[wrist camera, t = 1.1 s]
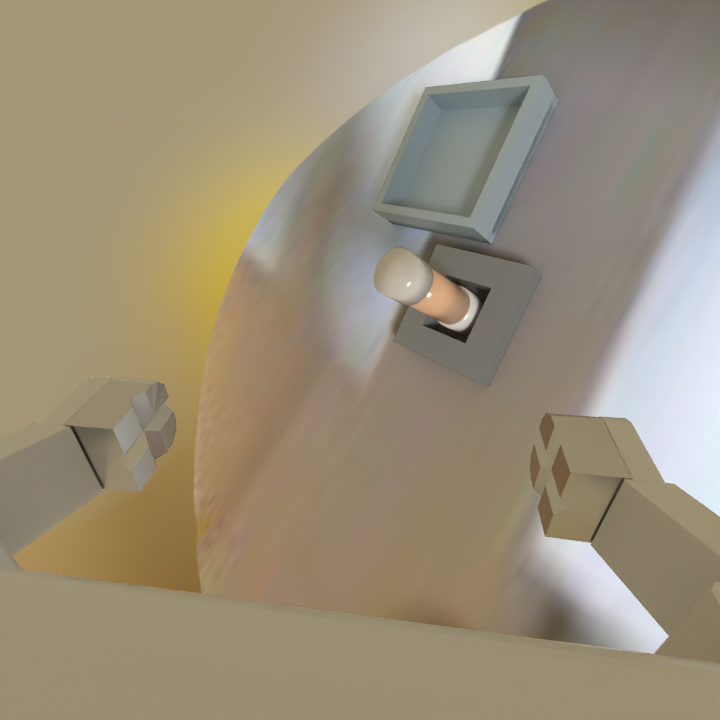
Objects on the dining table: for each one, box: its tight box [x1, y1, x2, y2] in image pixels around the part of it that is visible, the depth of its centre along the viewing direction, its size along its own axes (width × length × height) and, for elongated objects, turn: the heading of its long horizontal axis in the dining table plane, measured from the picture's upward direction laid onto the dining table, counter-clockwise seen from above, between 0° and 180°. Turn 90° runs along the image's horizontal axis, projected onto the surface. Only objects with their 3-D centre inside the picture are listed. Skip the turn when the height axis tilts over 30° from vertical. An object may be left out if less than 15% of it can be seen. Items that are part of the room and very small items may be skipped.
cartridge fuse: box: [374, 247, 484, 334], centre depth 43 cm, size 4×4×13 cm
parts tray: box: [373, 75, 558, 244], centre depth 51 cm, size 16×16×4 cm
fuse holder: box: [393, 244, 542, 386], centre depth 47 cm, size 12×12×2 cm
